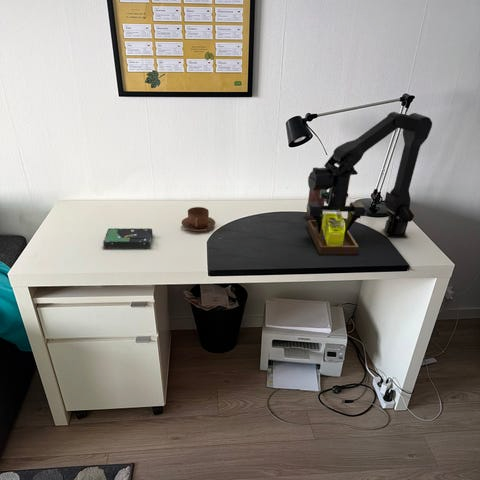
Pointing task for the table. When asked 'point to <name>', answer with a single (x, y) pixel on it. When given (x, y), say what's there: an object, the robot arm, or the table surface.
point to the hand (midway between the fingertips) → (331, 232)
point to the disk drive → (128, 238)
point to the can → (314, 197)
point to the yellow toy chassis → (333, 228)
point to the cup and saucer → (198, 220)
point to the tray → (346, 249)
